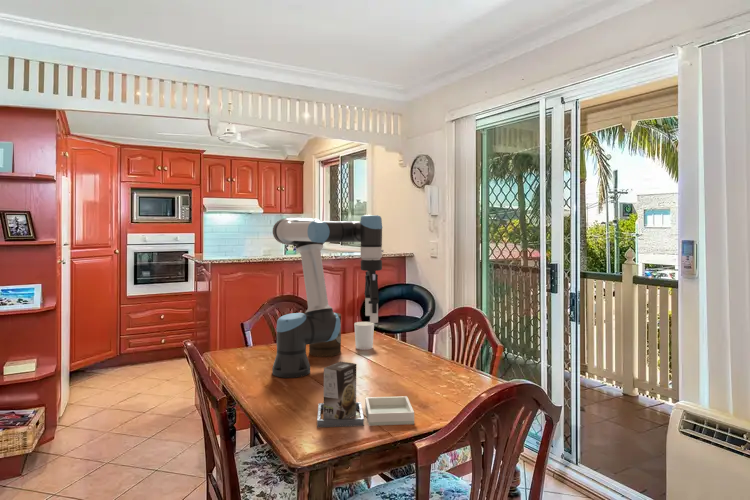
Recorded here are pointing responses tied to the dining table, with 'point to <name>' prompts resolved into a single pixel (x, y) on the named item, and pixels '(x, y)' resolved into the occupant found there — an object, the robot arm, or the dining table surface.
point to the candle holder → (364, 335)
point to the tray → (389, 410)
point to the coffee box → (339, 391)
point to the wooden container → (327, 346)
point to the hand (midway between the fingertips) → (371, 319)
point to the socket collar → (340, 421)
